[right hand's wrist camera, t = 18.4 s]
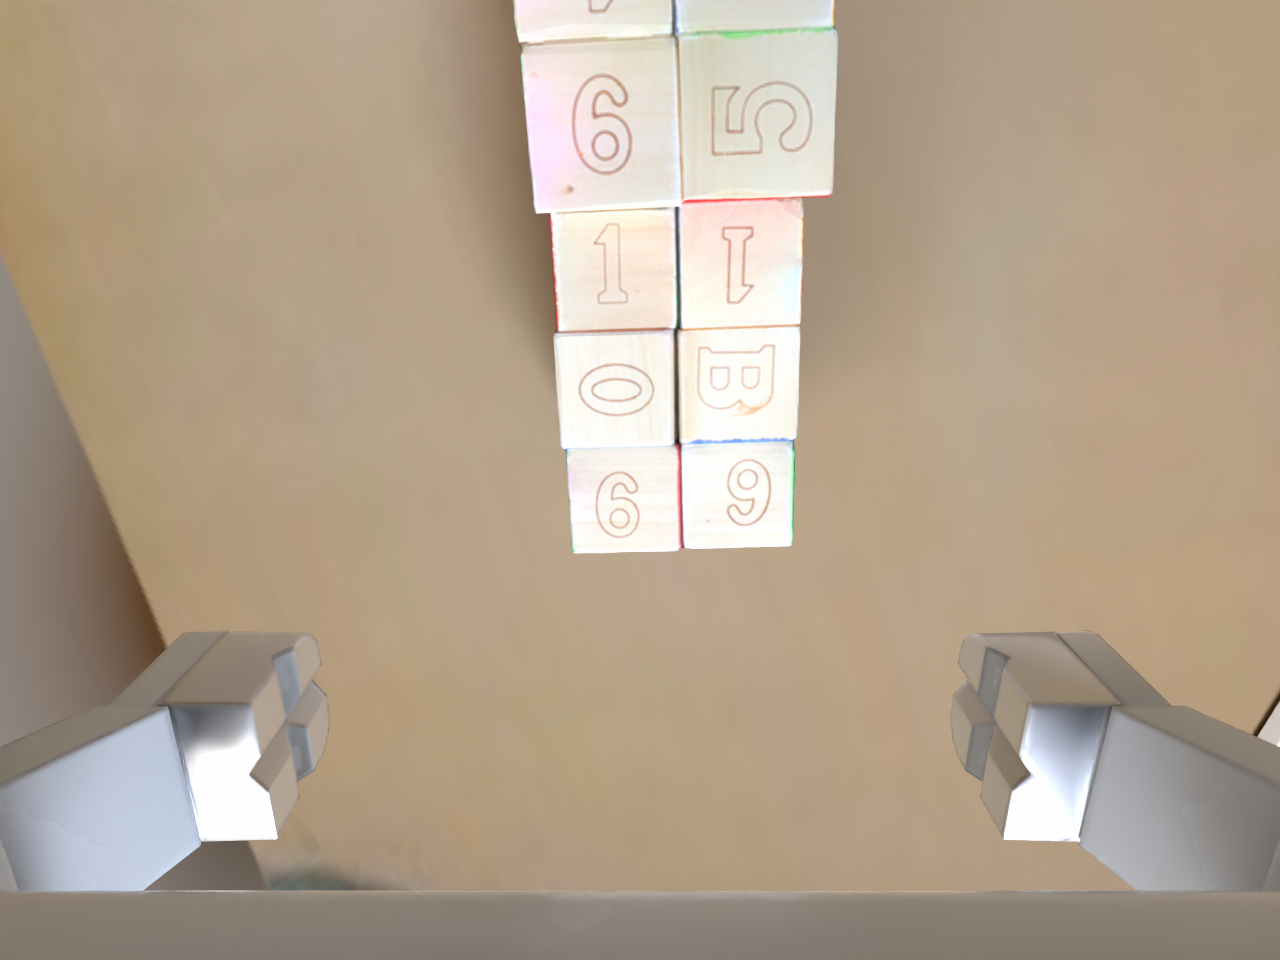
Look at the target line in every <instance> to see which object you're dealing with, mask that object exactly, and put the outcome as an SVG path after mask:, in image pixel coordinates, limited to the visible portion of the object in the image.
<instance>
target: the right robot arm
mask: <svg viewBox="0 0 1280 960" xmlns="http://www.w3.org/2000/svg"><path fill="white" fill-rule="evenodd" d="M958 664H959V666H960V668H961V669H962V671H963V672H964V674H965V675H966V677H967V678H968V680H967V681H966V682H965V683H964V684H963V685H962V686H961V687H960V688H959V689H958V690H957V691H956V692H955V693H954V694H953V701H952V709H951V728H952V738H953V742H954V746H955V749H956V752H957V755H958V757H959V759H960V761H961V763H962V765H963V767H964V769H965V771H967V772H968V773H970V774H971V775H973V776H974V777H976V778H978V779H979V780H981V781H982V782H983V784H982V789H981V795H980V798H981V799H982V801H983V803H984V805H985V807H986V808H987V810H988V812H989V814H990V815H991V817H992V819H993V821H994V822H995V824H996V826H997V828H998V830H999V831H1000V833H1001V835H1002V837H1003V838H1004V839H1013V840H1050V841H1080V842H1079V845H1080V846H1081V847H1083V848H1084V849H1085V850H1086V851H1088V852H1089V853H1090V854H1092V855H1093V856H1094V857H1095V858H1097V859H1098V860H1099V861H1101V862H1102V863H1103V864H1104V865H1106V866H1107V867H1108V868H1110V869H1111V870H1112V871H1113V872H1115V873H1116V874H1117V875H1119V876H1120V877H1121V878H1122V879H1124V880H1125V881H1126V882H1128V883H1129V884H1130V885H1131V886H1133V887H1134V888H1135V889H1137V890H1138V891H142V890H144V889H145V888H146V887H147V886H149V885H150V884H151V883H153V882H154V881H155V880H157V879H158V878H159V877H160V876H162V875H163V874H164V873H166V872H167V871H168V870H169V869H171V868H172V867H173V866H175V865H176V864H177V863H178V862H180V861H181V860H182V859H184V858H185V857H186V856H187V855H189V854H190V853H191V852H193V851H194V850H195V849H196V848H198V847H199V846H200V845H201V842H200V841H229V840H264V839H277V837H278V835H279V833H280V831H281V830H282V828H283V826H284V824H285V823H286V821H287V819H288V817H289V815H290V814H291V812H292V810H293V808H294V807H295V805H296V803H297V801H298V799H299V798H300V795H299V789H298V783H297V782H298V781H299V780H301V779H302V778H304V777H306V776H307V775H309V774H310V773H312V772H313V771H315V769H316V767H317V765H318V763H319V761H320V759H321V757H322V755H323V753H324V749H325V745H326V740H327V736H328V732H329V707H328V700H327V694H326V693H325V692H324V691H323V690H322V689H321V688H320V687H319V686H318V685H317V684H316V683H315V682H314V681H313V680H312V678H313V677H314V675H315V674H316V672H317V671H318V669H319V668H320V666H321V665H322V662H321V657H320V652H319V647H318V642H317V640H316V639H315V638H314V637H313V636H312V635H311V634H310V633H283V632H229V631H196V632H188V633H183V634H182V635H181V636H180V637H178V638H177V639H176V640H175V641H174V642H173V643H172V644H171V645H170V646H169V647H168V648H167V649H166V650H165V651H164V652H163V653H162V654H161V655H160V656H159V657H158V658H157V659H156V660H155V661H154V662H153V663H152V664H151V665H150V666H149V667H148V668H147V669H145V670H144V671H143V672H142V673H141V674H140V675H139V676H138V677H137V678H136V679H135V680H134V681H133V682H132V683H131V684H130V685H129V686H128V687H127V688H126V689H125V690H124V691H123V692H122V693H121V694H120V695H119V696H118V697H117V698H116V699H115V700H114V701H112V702H111V703H110V704H109V705H108V706H93V707H91V708H89V709H86V710H84V711H82V712H79V713H77V714H75V715H72V716H70V717H68V718H66V719H63V720H61V721H59V722H56V723H54V724H52V725H49V726H47V727H45V728H43V729H40V730H38V731H36V732H33V733H31V734H29V735H26V736H24V737H22V738H19V739H17V740H15V741H13V742H10V743H8V744H6V745H4V746H1V747H0V960H1280V701H1279V703H1278V704H1277V706H1276V708H1275V709H1274V711H1273V712H1272V714H1271V716H1270V717H1269V719H1268V720H1267V722H1266V724H1265V725H1264V727H1263V728H1262V730H1261V732H1260V733H1259V735H1258V736H1257V737H1256V736H1253V735H1251V734H1249V733H1247V732H1244V731H1242V730H1240V729H1237V728H1235V727H1233V726H1231V725H1228V724H1226V723H1224V722H1221V721H1219V720H1217V719H1214V718H1212V717H1210V716H1208V715H1205V714H1203V713H1201V712H1198V711H1196V710H1194V709H1191V708H1189V707H1187V706H1172V705H1171V704H1170V703H1169V702H1168V701H1167V700H1166V699H1165V698H1164V697H1162V696H1161V695H1160V694H1159V693H1158V692H1157V691H1156V690H1155V689H1154V688H1153V687H1152V686H1151V685H1150V684H1149V683H1148V682H1147V681H1146V680H1145V679H1144V678H1143V677H1142V676H1141V675H1140V674H1139V673H1138V672H1137V671H1136V670H1135V669H1134V668H1133V667H1132V666H1131V665H1130V664H1129V663H1127V662H1126V661H1125V660H1124V659H1123V658H1122V657H1121V656H1120V655H1119V654H1118V653H1117V652H1116V651H1115V650H1114V649H1113V648H1112V647H1111V646H1110V645H1109V644H1108V643H1107V642H1106V641H1105V640H1104V639H1103V638H1102V637H1101V636H1100V635H1099V634H1096V633H1093V632H1090V631H1065V632H1028V633H988V634H969V635H966V637H965V639H964V641H963V644H962V646H961V650H960V656H959V662H958Z"/></svg>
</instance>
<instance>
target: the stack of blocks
mask: <svg viewBox="0 0 1280 960" xmlns="http://www.w3.org/2000/svg"><path fill="white" fill-rule="evenodd" d="M513 8H514V18H515V26H516V31H517V36H518V40H519V44H520V48H521V60H520V65H521V76H522V86H523V97H524V107H525V117H526V128H527V139H528V151H529V161H530V171H531V181H532V191H533V206H534V209H535V212H536V214H537V213H549V218H550V230H551V246H552V262H553V277H554V293H555V311H556V325H557V330H556V331H555V333H554V335H553V341H554V359H555V377H556V393H557V405H558V418H559V431H560V443H561V446H562V448H564V449H565V451H566V462H567V479H568V494H569V510H570V528H571V541H572V551H573V553H611V552H656V551H678V550H679V549H681V548H692V549H697V548H739V547H777V546H790V545H791V544H792V541H793V517H794V482H795V451H794V440H795V439H796V438H797V430H798V399H799V361H800V321H801V314H802V290H803V227H804V215H803V201H802V198H810V197H829V196H830V195H831V194H833V170H834V137H835V111H836V82H837V57H838V33H837V31H836V28H835V25H834V15H835V0H513Z"/></svg>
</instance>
